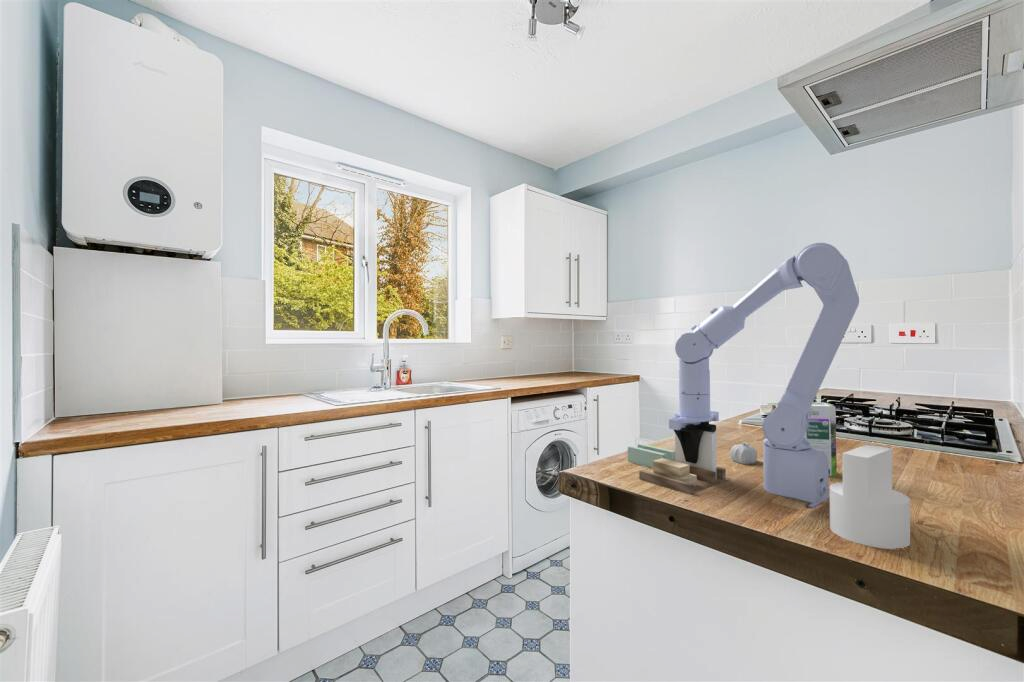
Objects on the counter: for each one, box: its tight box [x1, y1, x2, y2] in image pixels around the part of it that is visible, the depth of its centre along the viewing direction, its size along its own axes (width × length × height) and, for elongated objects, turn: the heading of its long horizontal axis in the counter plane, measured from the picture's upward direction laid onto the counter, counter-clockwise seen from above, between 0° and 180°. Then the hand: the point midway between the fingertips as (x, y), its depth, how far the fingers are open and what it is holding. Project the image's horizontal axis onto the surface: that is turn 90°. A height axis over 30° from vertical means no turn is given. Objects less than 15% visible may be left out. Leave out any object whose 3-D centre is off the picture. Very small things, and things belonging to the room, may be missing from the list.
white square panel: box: [674, 431, 717, 479], centre depth 89 cm, size 8×2×9 cm, turn 36°
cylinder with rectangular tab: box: [829, 444, 911, 550], centre depth 64 cm, size 9×9×12 cm
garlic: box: [729, 441, 758, 465], centre depth 99 cm, size 6×5×5 cm
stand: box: [627, 443, 675, 469], centre depth 98 cm, size 9×5×4 cm, turn 36°
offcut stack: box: [652, 458, 697, 486], centre depth 85 cm, size 7×4×4 cm, turn 36°
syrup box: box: [804, 402, 838, 478], centre depth 92 cm, size 6×6×14 cm
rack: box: [638, 466, 732, 495], centre depth 87 cm, size 11×14×3 cm
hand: (695, 461), depth 89 cm, fingers open, 2 cm apart
